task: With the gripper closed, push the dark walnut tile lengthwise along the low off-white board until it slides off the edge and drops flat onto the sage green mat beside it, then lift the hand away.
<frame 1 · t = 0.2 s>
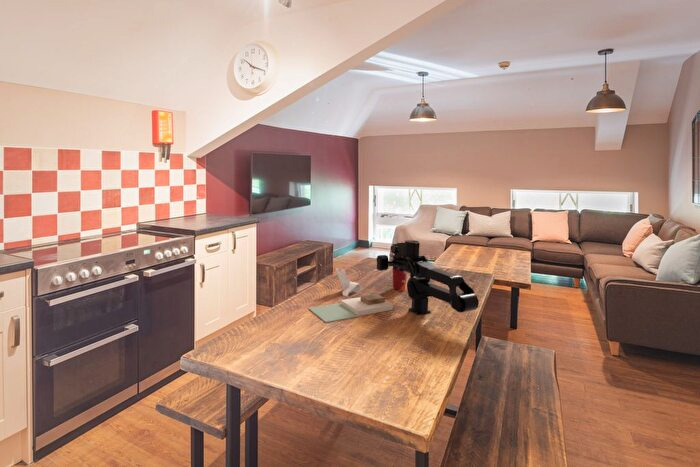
hand: (385, 258, 183), 16 cm above the table, tool horizontal, fingers open, 9 cm apart
plastic part: (347, 292, 187), on the table
paper cup: (399, 289, 193), on the table
walnut tile: (372, 301, 168), point 2 cm above the table, touching deck
mat: (333, 312, 160), on the table
deck: (366, 307, 167), on the table
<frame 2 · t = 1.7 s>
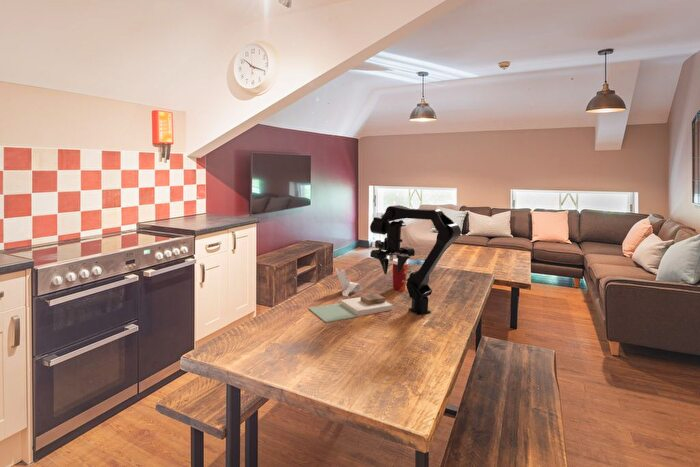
hand: (391, 273, 171), 13 cm above the table, tool pointing down, fingers open, 6 cm apart
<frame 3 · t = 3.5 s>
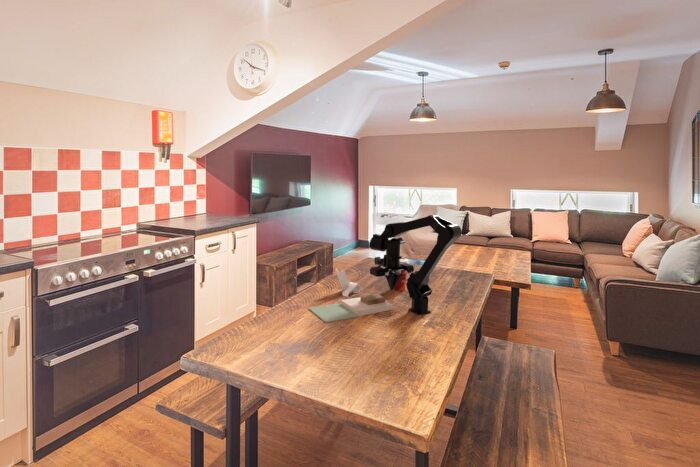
hand: (391, 289, 172), 6 cm above the table, tool pointing down, fingers closed
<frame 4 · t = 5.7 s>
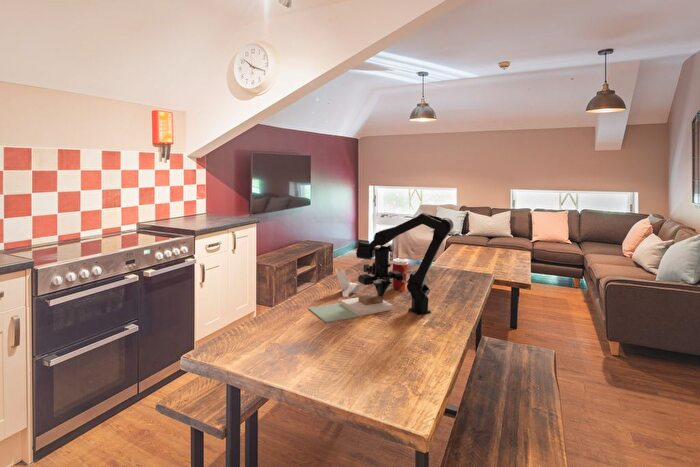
hand: (380, 297, 170), 3 cm above the table, tool pointing down, fingers closed
walnut tile: (370, 301, 168), point 2 cm above the table, touching gripper
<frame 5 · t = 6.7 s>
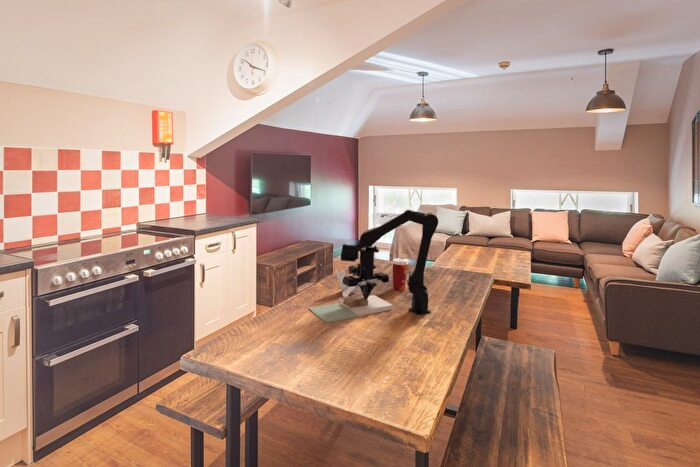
hand: (365, 299, 166), 3 cm above the table, tool pointing down, fingers closed
walnut tile: (355, 304, 164), point 2 cm above the table, touching deck, gripper
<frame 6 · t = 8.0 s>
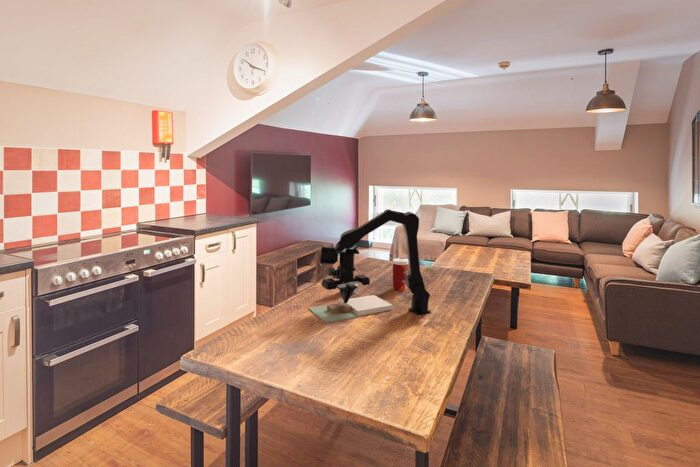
hand: (345, 302, 162), 3 cm above the table, tool pointing down, fingers closed
walnut tile: (339, 310, 161), resting on mat
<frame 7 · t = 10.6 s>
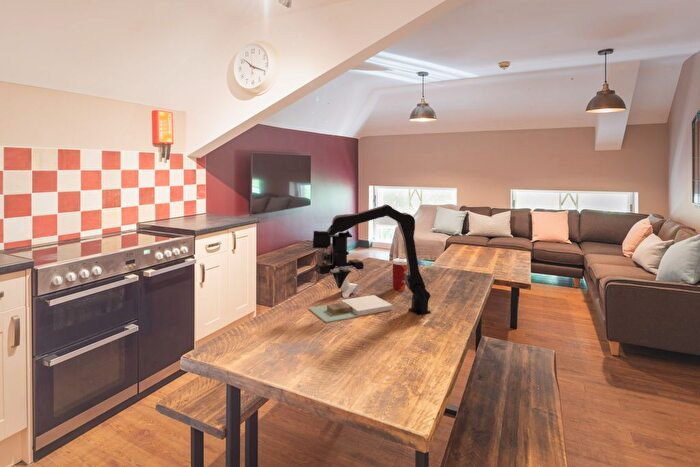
hand: (339, 288, 159), 10 cm above the table, tool pointing down, fingers closed
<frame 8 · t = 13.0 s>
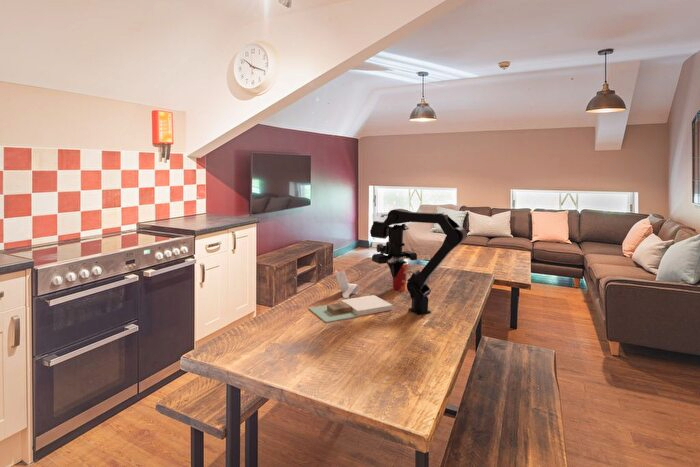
hand: (393, 277, 168), 12 cm above the table, tool pointing down, fingers closed
at the end: walnut tile resting on mat; walnut tile inside the target area (2.7 cm from its centre), resting on mat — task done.
